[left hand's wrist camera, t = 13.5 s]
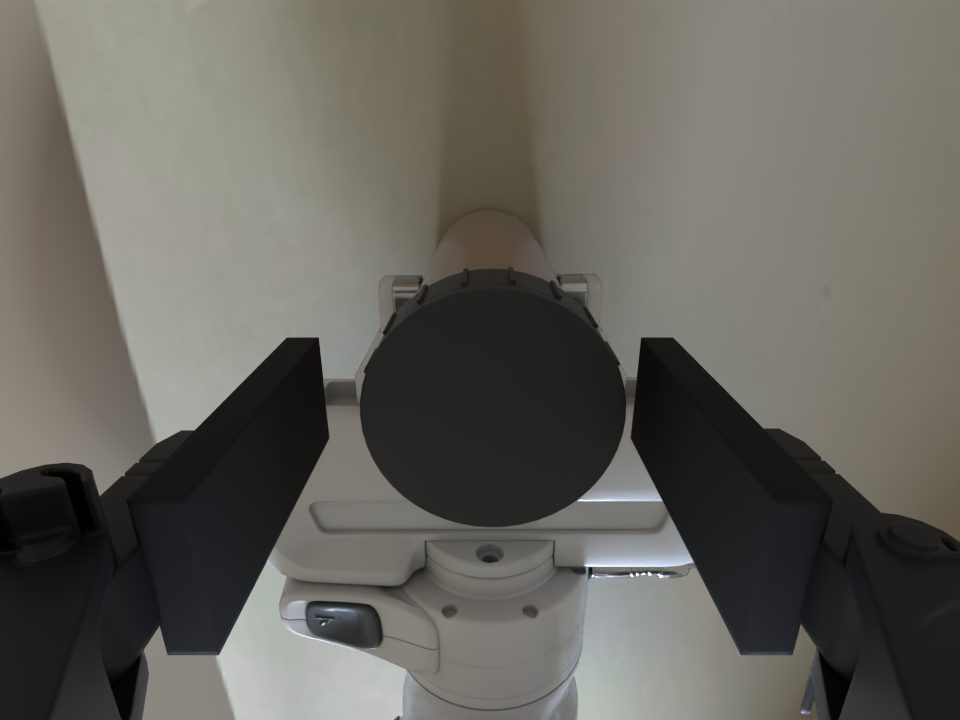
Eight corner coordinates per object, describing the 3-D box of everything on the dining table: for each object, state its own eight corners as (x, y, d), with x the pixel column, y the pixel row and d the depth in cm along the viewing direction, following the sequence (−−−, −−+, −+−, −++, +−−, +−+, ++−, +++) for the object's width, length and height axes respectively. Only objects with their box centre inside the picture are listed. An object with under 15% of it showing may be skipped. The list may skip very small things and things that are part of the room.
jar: (550, 217, 26) (632, 314, 12) (532, 321, 28) (582, 518, 14) (442, 201, 26) (386, 280, 12) (430, 307, 28) (368, 492, 13)
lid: (635, 283, 13) (659, 306, 11) (583, 497, 15) (596, 544, 13) (383, 247, 13) (366, 265, 11) (365, 469, 15) (350, 514, 13)
